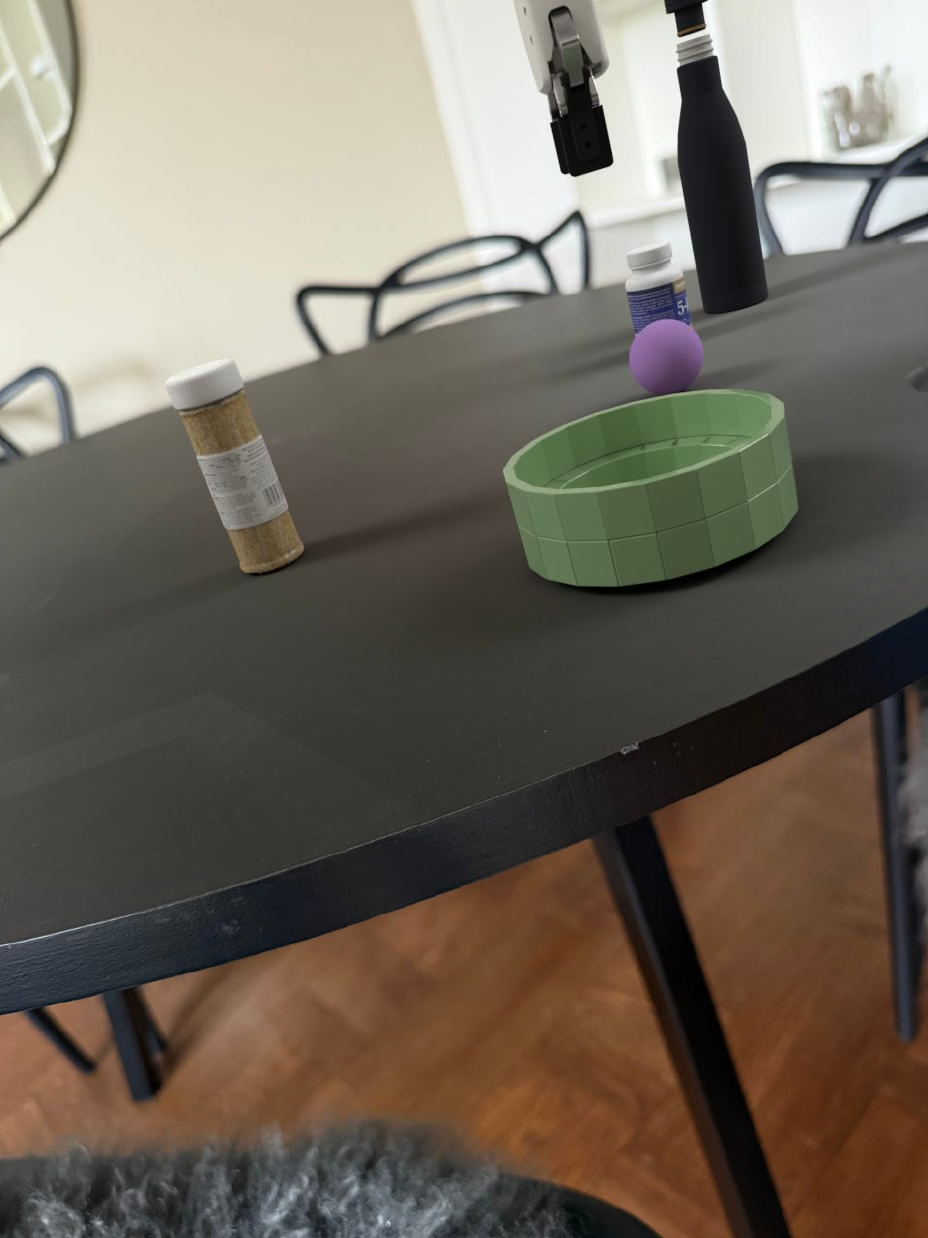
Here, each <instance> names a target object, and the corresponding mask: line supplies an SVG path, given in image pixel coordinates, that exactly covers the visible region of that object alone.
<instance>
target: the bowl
mask: <svg viewBox="0 0 928 1238" xmlns="http://www.w3.org/2000/svg"><path fill="white" fill-rule="evenodd" d="M791 447H792V446H791V441H790V433H789V427H788V420H787V414H786V406H785V403H784V401H782V400H780V399H778V398H777V397H776V396H774V395H772V394H771V393H768V392H761V391H756V390H750V389H745V388H730V389H729V388H726V389H724V388H723V389H720V388H719V389H717V388H716V389H715V388H713V389H712V388H711V389H701V390H694V391H693V390H692V391H683V392H678V393H675V394H669V395H659V396H655V397H650V398H646V399H641V400H635V401H632V402H628V403H625V404H621V405H618V406H614V407H611V408H607V409H604V410H600V411H597V412H594V413H592V414H588V415H586V416H583V417H581V418H578V419H576V420H573V421H570V422H568V423H565V424H562V425H560V426H557V427H556V428H554V429H551V430H550V431H548V432H546V433H544V434H542V435H541V436H540V435H539V436H538V437H537V438H535V439H533V440H531V441H530V442H528V443H527V444H525V446H523V447H522V448H521V449H519V450H517V452H515V453H514V454H513V455H512V456H511V457H510V458H509V460H508V462H507V463H506V464H505V466H504V468H503V470H502V474H503V477H504V481H505V485H506V487H507V491H508V496H509V498H510V502H511V506H512V509H513V513H514V517H515V520H516V524H517V527H518V531H519V535H520V539H521V542H522V546H523V549H524V553H525V556H526V557H525V558H526V561H527V564H528V567H529V569H530V570H531V571H533V572H535V573H536V574H537V575H539V576H541V577H542V578H544V579H545V580H547V581H551V582H556V583H561V584H565V585H570V586H575V587H584V588H585V587H589V588H590V587H592V588H594V587H597V588H598V587H599V588H603V587H604V588H605V587H606V588H609V587H610V588H618V587H628V586H635V585H642V584H650V583H657V582H663V581H670V580H672V579H676V578H680V577H684V576H688V575H691V574H695V573H698V572H702V571H706V570H710V569H713V568H716V567H719V566H721V565H724V564H725V563H728V562H730V561H732V560H735V559H737V558H739V557H742V556H744V555H747V554H749V553H751V552H754V551H755V550H757V549H760V547H762V546H763V545H765V544H766V543H767V542H769V541H771V540H772V539H773V538H775V537H777V536H778V535H779V534H781V533H783V531H784V530H785V529H786V528H787V526H788V525H789V524H790V522H791V521H792V520H793V518H794V517H795V515H796V514H797V513H798V511H799V497H798V496H799V494H798V487H797V480H796V473H795V468H794V461H793V455H792V448H791Z"/></svg>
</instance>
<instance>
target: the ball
mask: <svg viewBox="0 0 928 1238" xmlns="http://www.w3.org/2000/svg"><path fill="white" fill-rule="evenodd" d="M704 352H705V351H704V347H703V343H702V340H701V338H700V337H699V335H698V333H697V331H695V330H694V328H693V329H692V328H691V327H690V326H688V325H687V324H685V323H683V322H681V321H678V320H672V319H665V320H659V321H656V322H653V323H651V324H649V325H648V326H646V327H645V328H644V329H642V330H641V331H640V332H639V334H638V335H637V336H636V337H635V338H634V339H633V341H632V343H631V346H630V349H629V355H628V356H629V357H628V362H629V364H628V365H629V368H630V372H631V374H632V376H633V378H634V380H635V381H636V382H637V384H638V385H639V386H640V387H641V388H642V389H644V390H646V391H647V392H650V393H652V394H655V395H659V396H664V395H669V394H675V393H681V392H682V391H684V390H686V389H687V388H688V387H690V386H691V385H692V384H693V383H694V382H695V381H696V379H697V378H698V376H699V375H700V373H701V370H702V368H703V365H704V359H705V358H704V357H705V353H704Z"/></svg>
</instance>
